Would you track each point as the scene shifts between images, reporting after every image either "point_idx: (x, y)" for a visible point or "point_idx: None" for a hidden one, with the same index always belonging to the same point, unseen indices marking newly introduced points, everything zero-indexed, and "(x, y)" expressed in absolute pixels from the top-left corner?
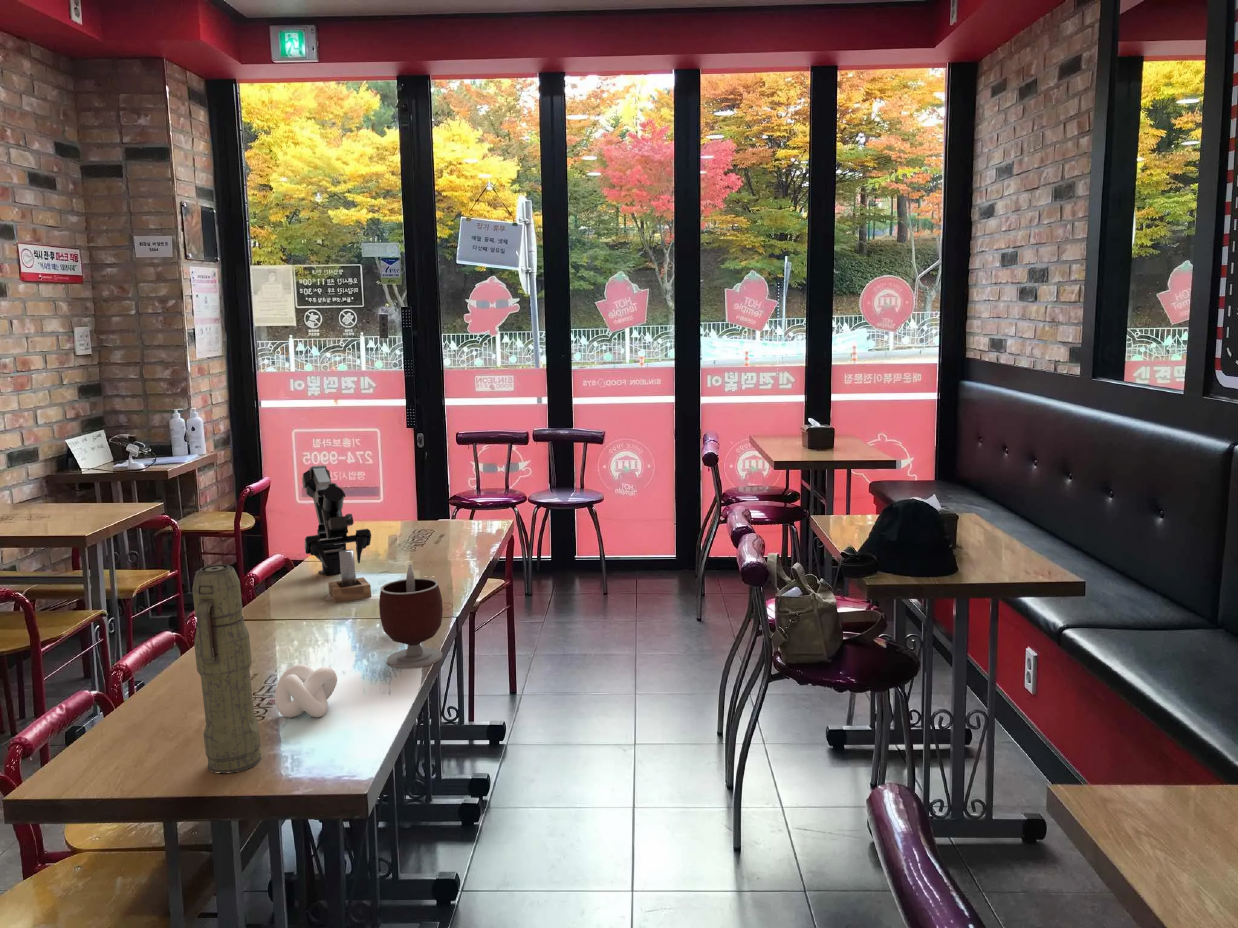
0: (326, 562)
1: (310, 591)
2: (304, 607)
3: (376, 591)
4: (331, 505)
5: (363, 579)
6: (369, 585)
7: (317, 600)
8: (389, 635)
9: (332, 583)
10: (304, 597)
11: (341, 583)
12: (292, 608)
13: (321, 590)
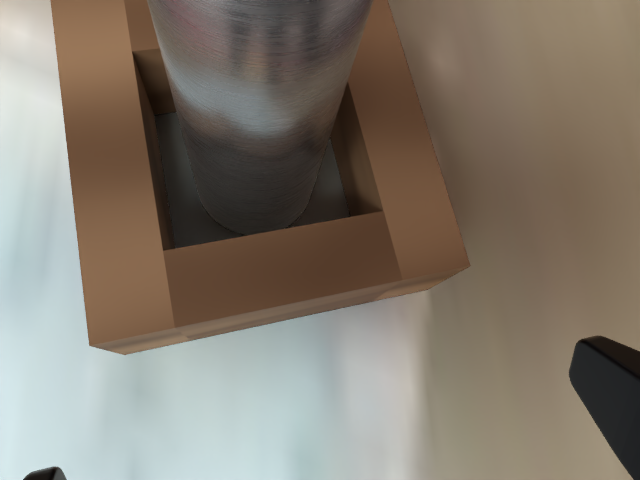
0: (635, 364)
1: (604, 463)
2: (541, 20)
3: (23, 220)
4: None
5: (97, 238)
6: (62, 2)
7: (489, 148)
8: None
9: (421, 208)
10: (604, 275)
11: (334, 223)
12: (611, 31)
13: (514, 463)
